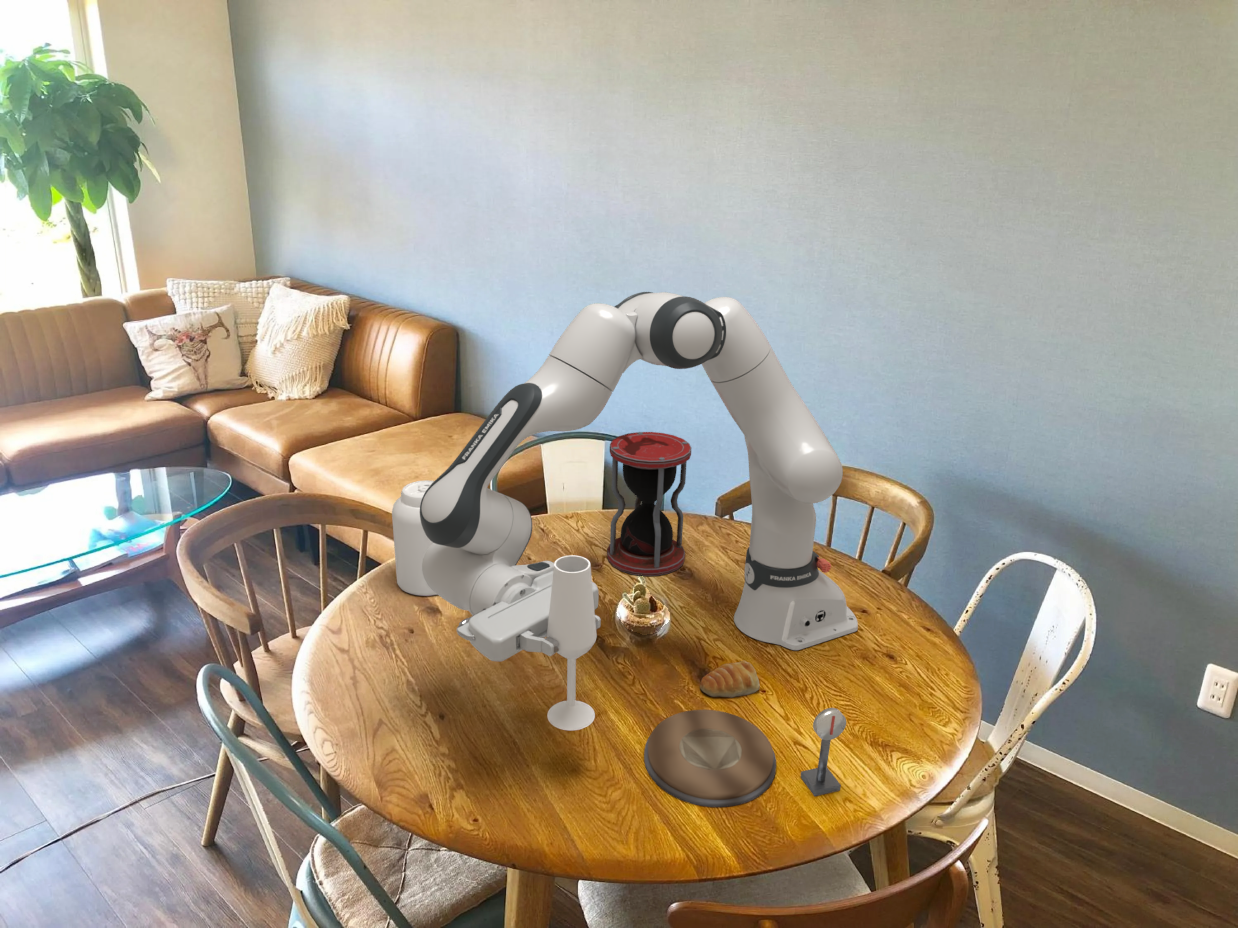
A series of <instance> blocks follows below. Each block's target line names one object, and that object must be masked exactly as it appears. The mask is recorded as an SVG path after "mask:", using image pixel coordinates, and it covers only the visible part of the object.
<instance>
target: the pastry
mask: <svg viewBox="0 0 1238 928" xmlns="http://www.w3.org/2000/svg"><path fill="white" fill-rule="evenodd" d="M760 688H761V685H760V680H759V677H758V675H757V671H756V669H755V667H754V666H753V664H752V663H751V662H747V661H746V660H744V659H743V660H741V661H739V662H729V663H724V664H721V665H720V666H719V667H717V668H715V669H713V670H711V671H709V673H707V674H705V675H704V676H702V678H701V680H700V685H699V689H700V690H701V691H702V692H703V693H705V694H706V695H708V696H710V697H712V698H720V697H721V698H736V697H741V696H747V695H752V694H755V693H756V692H757V691H759V690H760Z"/></svg>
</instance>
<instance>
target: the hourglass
mask: <svg viewBox="0 0 1238 928" xmlns="http://www.w3.org/2000/svg"><path fill="white" fill-rule="evenodd" d="M609 454H610V457H611V458H612V463H611V491H612V494H613V496H614V497H615V498H616V500H617V504H618V507H617V510H616V513H615V514H614V515H613V516H612V519H611V521H610V535H609V537H610V538H609V539H610V540H609V541H610V542H609V544H608V546H607V549H606V558H607V561H608V563H610V565H612V566H613V568H615V569H618V570H619V571H620V572H624V573H626V574H630V575H635V576H641V575H642V576H641V577H655V576H663V575H666V574H671V573H673V572H675V571H677V570H679V569H680V567H682V566H683V565H684V563H685V559H686V551H685V549H684V546H683V529H684V527H683V525H684V514H683V511H682V509H680V507H679V504H678V498H679V495H680V493H681V492H683V490H684V487H685V484H686V477H687V476H686V475H687V462H688V461H690V460H691V459H690V458H691V456H692V445H691V444H690V443H689V442H688V441H687V440H685V439H684V438H682V437H679V436H677V435H674V434H671V433H664V432H656V431H655V432H654V431H638V432H628V433H625V434H622V435H619V436H617V437H615V438H613V439H612V440H611V442H610V444H609ZM619 463H621V464H622V474H623V476H622V477H623V480H624V482H625V485H626V486H627V488H628V490H630V491H631V493H632V494H633V495H634V496H636V499H635V501H634V510H632V511H631V512H630V513H629V514H628V515H627V516H626V517H625V519H624V521H623V523H622V525H621V530H620V537H617V523H618V520H619V518H620V517H621V516H623V514H624V511H625V509H626V501H625V498H624V496H622V494H620V491H619V489H618V479H619V478H618V477H619V476H618V474H619V471H618V470H619ZM678 466H680V474H679V475H680V476H679V477H680V478H679V483H678V485H677V488H675V490H674V491H672V495H671V497H670V505H671V508H672V509H673V511H674V512H675V513H676V516H677V530H676V540H675V539H673V538H674V532H673V530H674V529H673V527H672V524H671V522H670V519H669V518H668V517H667V516H666V514H665V513H664V512H663V511H662V510H661V508H662V506H663V502H664V501H663V500H664V499H663V498H664V495H665V494H666V493H668V491H669V490H670V489H671V488H672V486H674V485H673V484H674V483H675V480H676V478H677V477H676V475H677V469H678V468H677V467H678Z"/></svg>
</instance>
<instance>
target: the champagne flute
mask: <svg viewBox="0 0 1238 928" xmlns="http://www.w3.org/2000/svg"><path fill="white" fill-rule="evenodd" d="M553 563H554V570H553V580H552V590H551V599H550V609H549V619H548V629H547V637H549V636H550V637H552V638H553V639H555V640H557V641H558V643H559V647H558V648H559V651H558V652H556V653H557V654H558V655H560V656H561V657H563V658H565V659H566V660H567V661H566V665H567V667H566V669H567V670H566V672H567V673H566V674H567V676H566V681H567V683H566V684H567V685H566V688H567V689H566V700H563V701H560V702H557V703H555V704H554V705H552V706H551V707H550V708H549V710H548V711H547V716H546V717H547V720H548V722H549V723H550V725H552V726H553V727H555V728H557V729H560V730H564V731H571V732H572V731H579V730H582V729H584V728H586V727H589V726H590V725H591V724H593V722H594V720H595V718H596V714H595V710H594V708H593V707H592V706H590V705H589V704H588V703H586V702H583V701H581V700H576V691H577V690H576V687H577V686H576V683H577V682H576V681H577V679H576V678H577V675H576V673H577V672H576V671H577V665H576V664H577V659H578V658H580V657H581V656H584V655H585V654H586V653H587V654H588V652H589V651H590V650H591V649H592V648H593V646H594V644H595V643H596V640H597V637H598V635H597V629H596V622H595V615H596V613H595V610H594V600H593V588H592V582H593V580H592V579H593V578H592V566H591V562H590V560H589V559H588V558H586V557H584V556H581V555H574V554H573V555H572V554H571V555H563V556H561V557H559V558H557V559H556V560H555V561H554V562H553ZM547 637H546V638H547Z"/></svg>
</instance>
